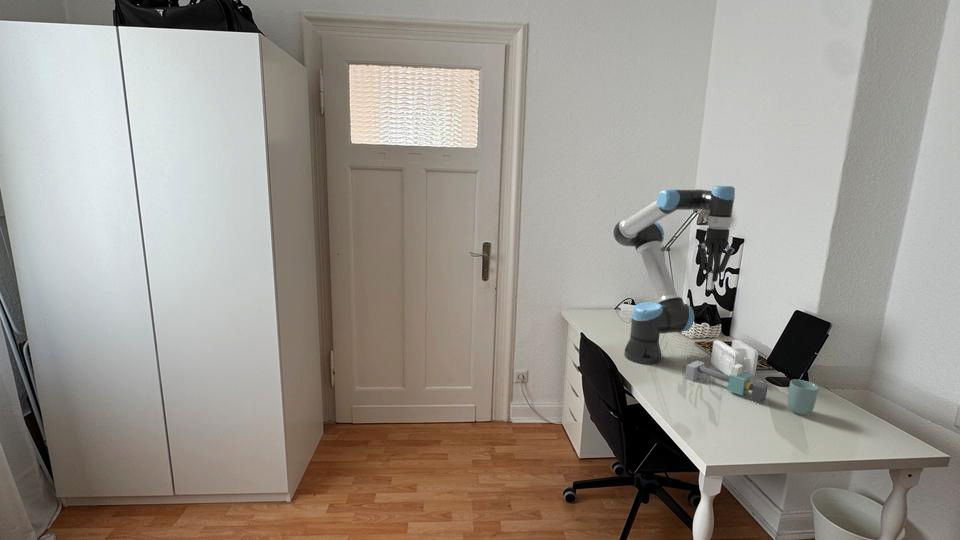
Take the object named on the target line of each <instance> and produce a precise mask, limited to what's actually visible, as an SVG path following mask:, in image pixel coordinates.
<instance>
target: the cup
mask: <svg viewBox="0 0 960 540" xmlns="http://www.w3.org/2000/svg"><path fill="white" fill-rule="evenodd" d="M818 393H819V387H818V386H817V384H815V383H813V382H810V381H807V380H804V379H795V378H794V379H791V380H790V381H789V387H788V391H787V400H786V403H787V406H788V409H789V410H790V411H791V412H793V413H794V414H796V415H800V416H801V415H802V416H808V415H810V414H812V412H813V411H814V409H815V406H816V403H817V397H818Z"/></svg>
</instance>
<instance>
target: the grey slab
mask: <svg viewBox="0 0 960 540" xmlns="http://www.w3.org/2000/svg"><path fill="white" fill-rule="evenodd" d="M699 366H702V367H705V362H704V361H700V360H695V361H693V362H691V363H688V364H686V370H685V376H684V379H686V380H689V381H691V382H694V381H695V380H697V379H699V378H701V377H702V376H703V373H700V372H698V371H697V370H698V367H699Z"/></svg>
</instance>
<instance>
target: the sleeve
mask: <svg viewBox="0 0 960 540" xmlns="http://www.w3.org/2000/svg"><path fill="white" fill-rule="evenodd" d="M742 368H743V365H740V364H735V365H734V366H732V369H731V374H730V376H729V383H728V382H727V383H728V384H727V391H728V392H731V393H733V394H737V395H738V396H739V395H740V396H744V395H745V394H746V393H748V392H749V391H750V390H747V389H745V382H749V383H751V381H752V376H751V375H749V374H745V373H742Z"/></svg>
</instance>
